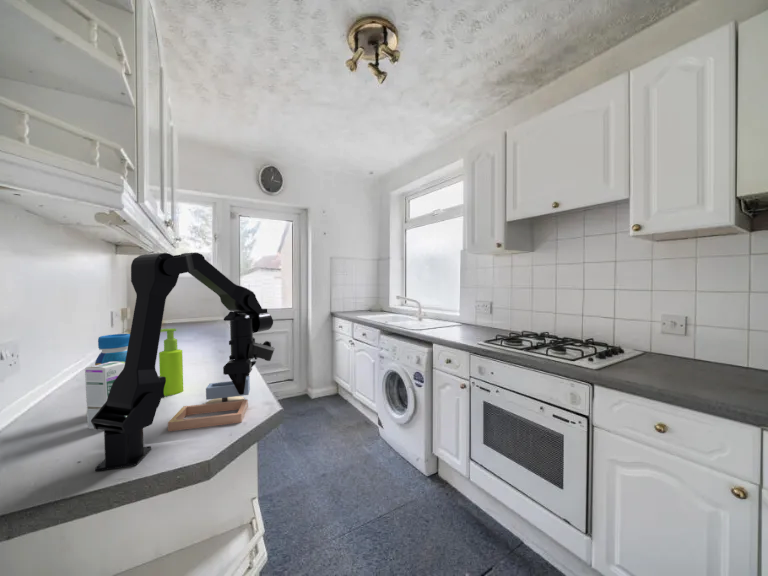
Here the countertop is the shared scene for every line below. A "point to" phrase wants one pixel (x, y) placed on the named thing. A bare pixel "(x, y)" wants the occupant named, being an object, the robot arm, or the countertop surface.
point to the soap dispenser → (171, 365)
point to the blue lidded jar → (112, 348)
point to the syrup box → (100, 386)
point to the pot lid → (226, 399)
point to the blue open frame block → (225, 389)
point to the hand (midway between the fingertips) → (243, 391)
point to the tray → (181, 423)
